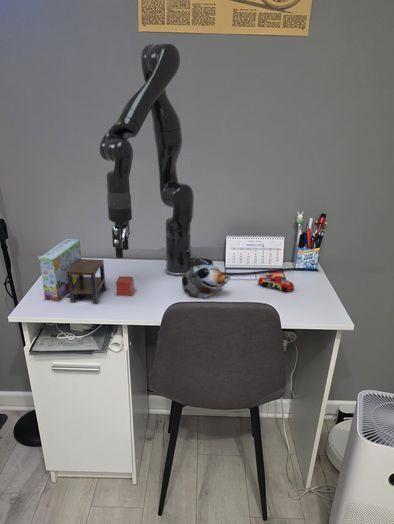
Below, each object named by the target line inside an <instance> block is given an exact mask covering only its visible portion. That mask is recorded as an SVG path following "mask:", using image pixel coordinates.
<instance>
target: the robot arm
mask: <svg viewBox="0 0 394 524" xmlns="http://www.w3.org/2000/svg"><path fill="white" fill-rule="evenodd" d="M140 55H141V56H140V65H141V70H142V75H143V79H144V84H143V85H142V86H141V87H140V88H139V89H138V90H137V91H136V92H135V93H133V94H132V96H131V97H130V98H129V99H128V100H127V102H126V104H125V105H124V106H123V108H122V111H121V113H120V114H119V117H118V118H117V120H116V122H115V123H114V124H112V126H111V127H110V128H109V129H108V131H107V132H106V133H105V134H104V135H103V137H102V139H101V141H100V144H99V148H98V149H99V155H100V157H101V158H102V159H103V160H104V161H106V162H110V163H114V167H113V169H112V170H109V171H108V172H107V173H106V178H105V179H106V190H107V191H106V192H107V194H106V201H107V203H106V204H107V215H108V220H109V221H110V222H113V223H114V226H113V227H112V228H111V237H112V247H113V248H115V249H114V250H115V258H116V259H123V258H124V251H128V250H129V247H130V245H129V239H130V235H131V230H130V221H132V219H133V211H132V196H131V189H130V187H131V186H130V175H131V171H132V170H131V169H132V163H133V159H134V150H133V146H132V144H131V142H130V141H129V140H130V139H134V138H136V137H137V135H138V134H139V132H140V130H141V128H142V127H143V125H144V122H145V121H146V119H147V117H148V115H149V113H151V120H152V129H153V136H154V137H153V138H154V143H155V148H156V155H157V165H158V175H159V195H160V196H159V197H160V199H161V202H162V204H163V205H164V206H166V207H167V208H171V209H172V216H171V217H168V218H167V219H166V220H165V263H166V267H165V268H166V269H165V270H166V273H167V274H169V275H170V276H171V275H172V276H183V275H184V274H185V273H186V272H188V271H191V270H192V268H193V267H194V266H195V267H197V266H200V265H204V264H202V263H200V262H197V258H196V257H192V245H191V225H192V221H193V217H194V203H195V202H194V200H195V199H194V198H195V197H194V196H195V195H194V191H193V189H192V187H191V186H190V185H189V184H187V183H183V182H179V178H178V174H177V172H178V171H177V162H178V159H179V156H180V153H181V150H182V147H183V132H182V125H181V120H180V117H179V115H178V113H177V111H176V110H175V108H174V105H173V104H172V102H171V100H170V98H169V95H168V93H167V89H166V88H167V87H168V86H169V84H170V83H171V82H172V80H173V79H174V77H175V76H176V75H177V73H178V71H179V68H180V66H181V54H180V52H179V49H178V47H177V46H176V45H174V44H172V43H169V42H159V43H158V42H155V43H147V44H146V45H145V46H144V47H143V48H142V51H141V54H140ZM196 265H197V266H196ZM283 271H315V272H318V271H319V268H313V267H287V268H286V267H285V268H276V269H275V268H274V269H266V270H257V271H247V272H246V271H244V272H226V271H221V273H225V275H228V276H240V275H241V276H242V275H255V274H265V273H272V272H274V273H275V272H283Z"/></svg>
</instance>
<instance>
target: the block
mask: <svg viewBox="0 0 394 524" xmlns="http://www.w3.org/2000/svg"><path fill="white" fill-rule="evenodd" d="M134 284H135V283H134V276H120V275H119V276H118V277H117V279H116V281H115V288H116V296H127V297H129V296H132V295H133V293H134V290H135V285H134Z"/></svg>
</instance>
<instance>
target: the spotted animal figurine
mask: <svg viewBox="0 0 394 524" xmlns="http://www.w3.org/2000/svg"><path fill="white" fill-rule="evenodd" d="M221 272H222V271H221V269H219V267H217V266H216V265H213V264H207V263H206V264H203V265H197V266H194V267H193V268H191V271H188V272H186V273H185V274H184V275H182V277H181V285H182V288H183V291H184V292H185V293H188V295H189V296H190V297H191V298H198V299H206V298H207V297H209V296H210V297H211V296H212V295H213V294H214V293H216V292H217V291H219V290H220V289H221V288H223V286H225V285H227V284H228V282H229V281H230V279H231V275H226V274H225V273H221Z"/></svg>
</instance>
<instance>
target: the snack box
mask: <svg viewBox="0 0 394 524" xmlns="http://www.w3.org/2000/svg"><path fill="white" fill-rule="evenodd" d="M77 259H82V251H81V240H80V239H77V238H75V239H74V238H65V239H64V240H62V241H60V243H58V244H57V245H55V246H54V247H52V248H51V249H50V250H48V251H47V252H45V253H44V254H42V255H41V256H40V257H39V265H40V266H39V267H40V272H41V280H42V287H43V294H44V299H45V300H51V301H57V302H58V301H60V300H61V299H62V298H63V297H64V296H65V295H66V294H67V293H68V292H70V291H69V283H68V276H67V271H68V270H69V269H70V268H71V266H72V265H73V264H74V263H75V262H76V261H77ZM72 278H73V285H74V284H75V282H76V281H77V280H78V278H79V275H72Z"/></svg>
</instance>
